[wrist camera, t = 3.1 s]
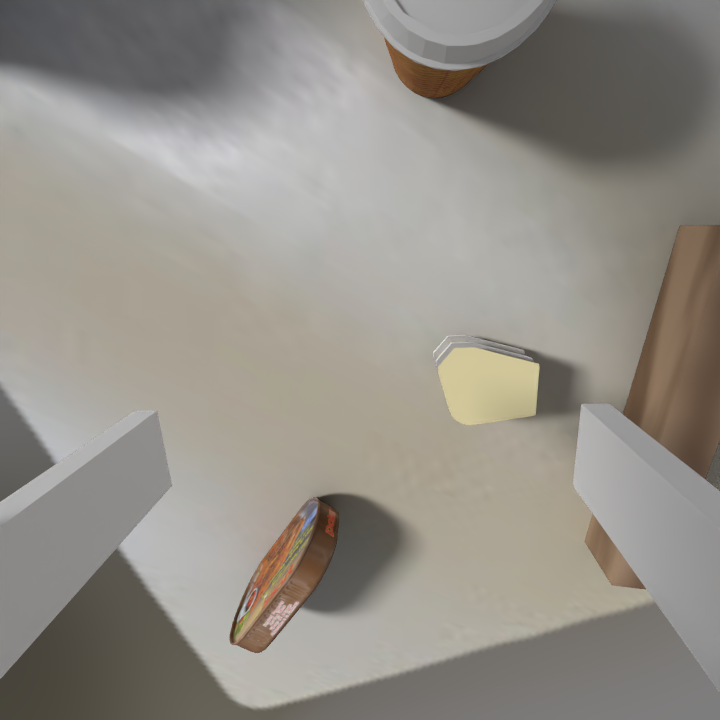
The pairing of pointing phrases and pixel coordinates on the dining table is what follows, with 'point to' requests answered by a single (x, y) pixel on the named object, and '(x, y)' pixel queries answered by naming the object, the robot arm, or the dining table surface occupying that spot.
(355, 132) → the dining table surface
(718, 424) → the bar
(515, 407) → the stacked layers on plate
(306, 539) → the tin
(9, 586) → the robot arm
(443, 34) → the disposable coffee cup
